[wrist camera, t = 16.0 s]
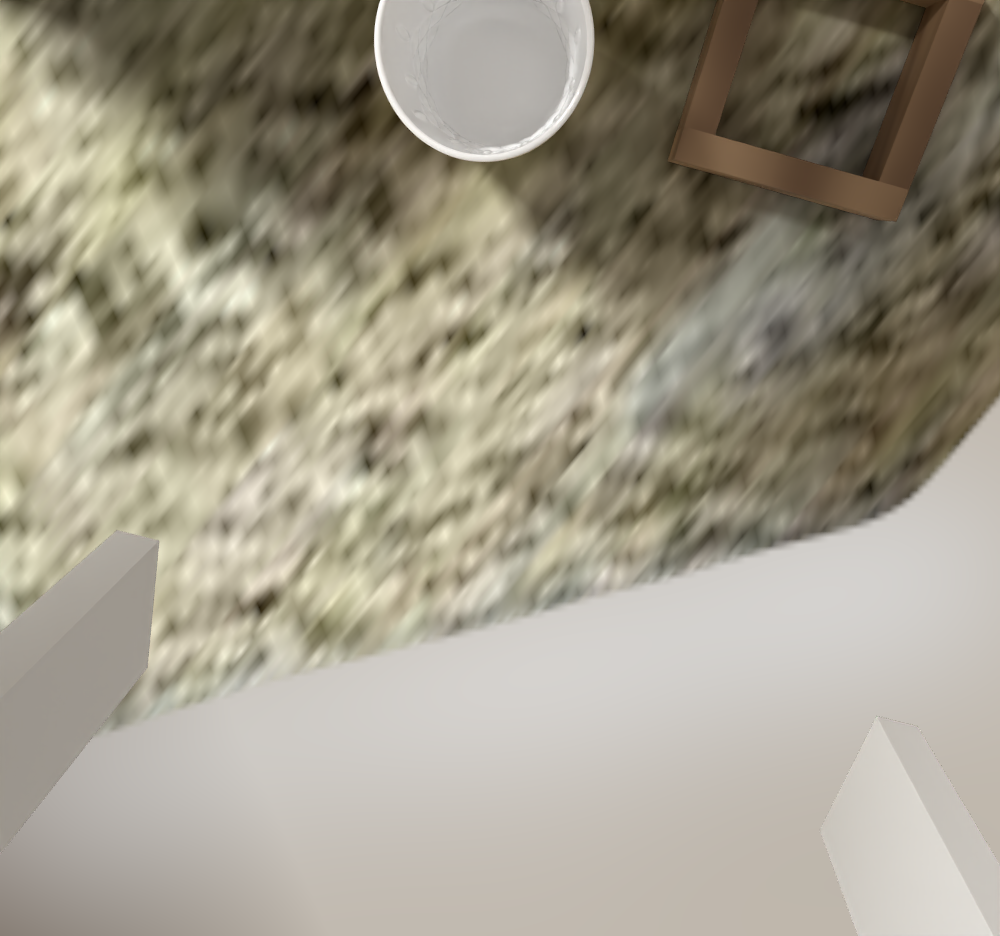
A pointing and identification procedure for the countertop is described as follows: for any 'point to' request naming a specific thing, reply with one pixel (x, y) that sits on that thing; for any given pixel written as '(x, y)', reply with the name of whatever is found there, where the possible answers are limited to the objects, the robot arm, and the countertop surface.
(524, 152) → the white cup
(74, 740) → the robot arm
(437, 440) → the countertop surface
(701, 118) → the brown square wooden frame
